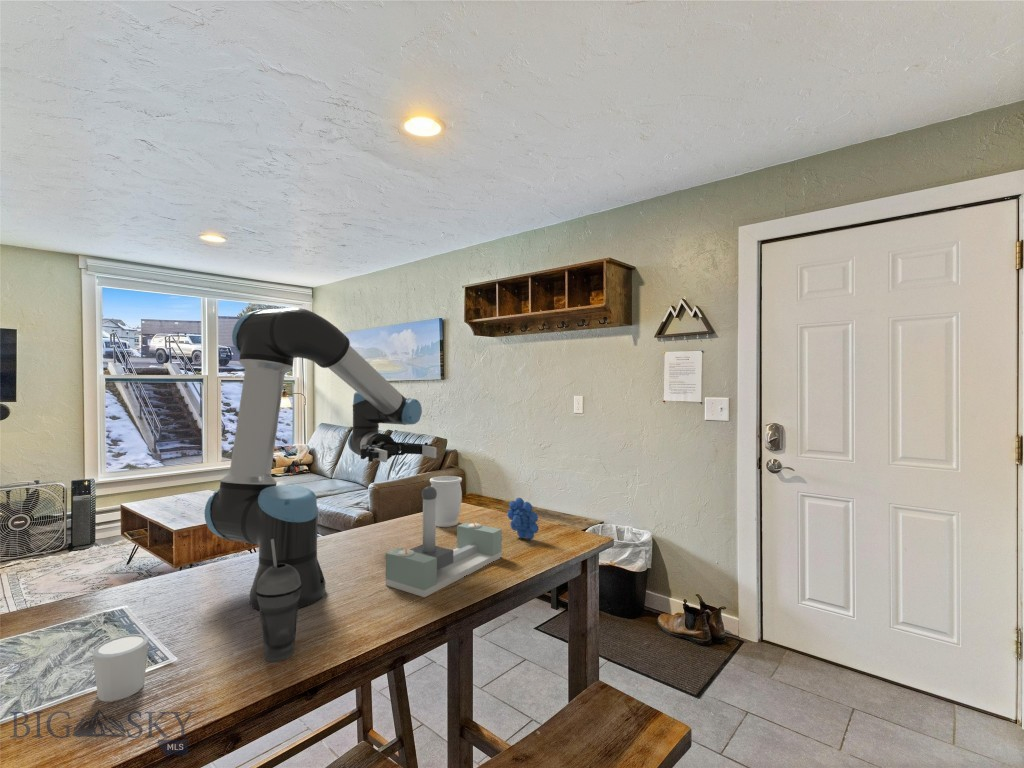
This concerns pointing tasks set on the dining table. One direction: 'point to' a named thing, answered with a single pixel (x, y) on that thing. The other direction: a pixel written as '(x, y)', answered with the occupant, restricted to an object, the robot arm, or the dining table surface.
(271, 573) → the beverage cup
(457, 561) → the rail stand
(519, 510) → the grapes
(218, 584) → the dining table surface
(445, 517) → the jar
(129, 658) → the white cylinder
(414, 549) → the carriage
